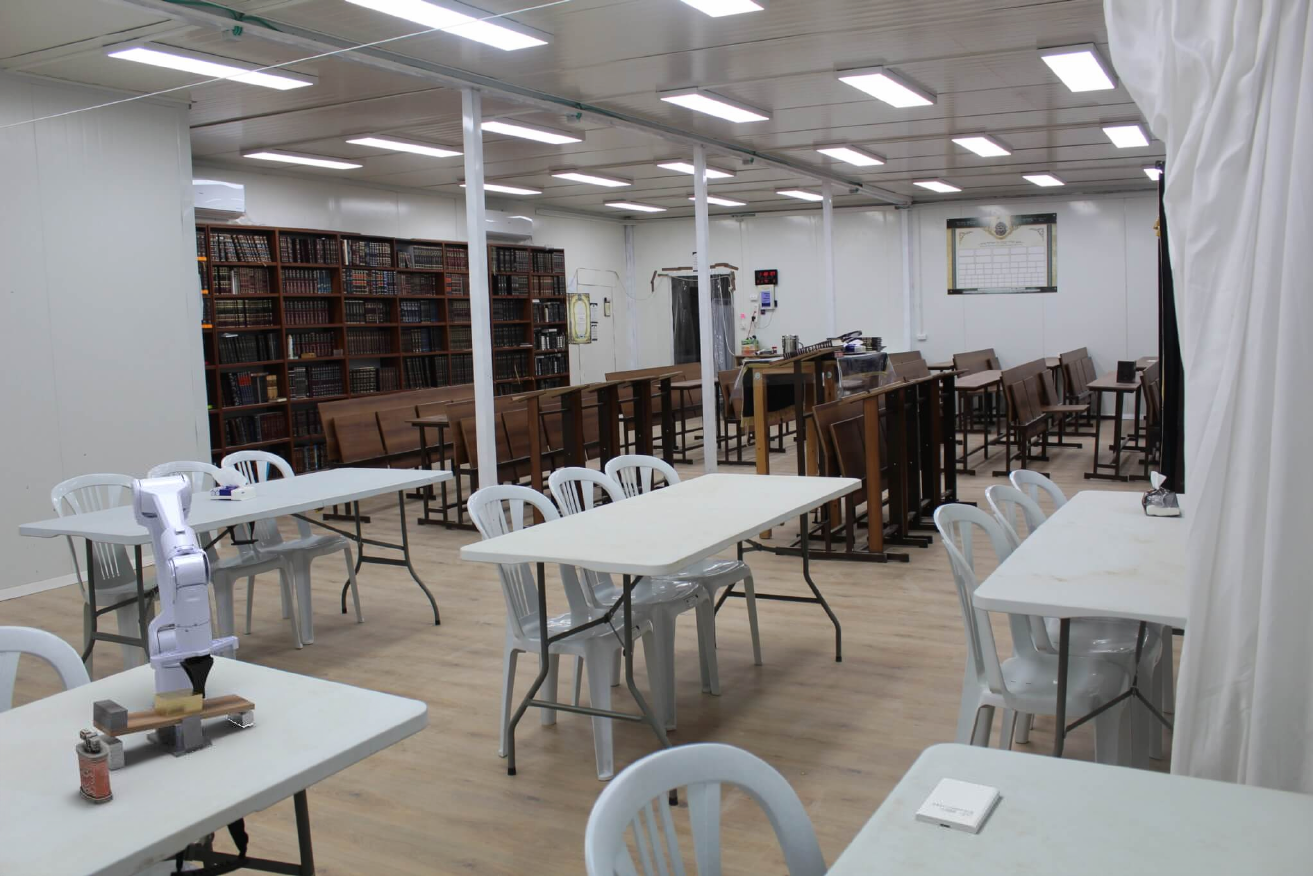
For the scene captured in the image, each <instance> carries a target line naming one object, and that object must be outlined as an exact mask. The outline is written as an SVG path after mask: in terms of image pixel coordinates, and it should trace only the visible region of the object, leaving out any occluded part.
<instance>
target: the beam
mask: <svg viewBox="0 0 1313 876" xmlns="http://www.w3.org/2000/svg"><path fill="white" fill-rule="evenodd" d="M255 706H256V704H255V702H252V701H250V700H248V699H245V698H243V697H241V696H239V695H238V694H235V693H233V694H228V695H222V696H217V697H212V698H207V699H205V700H202V711H200V712H195V713H199V714H200V717H201V721H202V720H208V719H211V718H218V717H222V716H228V714H233V713H238V712H243V711H249V710H251V711H252V710H255V708H256V707H255ZM92 708H93V709H92V710H93V711H92V712H93V713H92V714H93V715H92V717H93V718H92V726H93V727H94V728H96V729H97V730H98V731H101V732H102V733H103V734H106V735H108V736H109V737H116V738H117V737H121V736H125V735H130V734H137V733H141V732H146V731H147V732H148V731H151V730H155V729H157V728H162V727H167V726H172V725H175V726H177V725H180V720H179V718H182V717H185V716H188V715H192V714H195V713H190V714H185V715H180V716H175V717H170V718H166V717H164V716H162V715H160V714H158V713H156V712H154V709H153V708H151V709H145V710H140V711H139V710H138V711H134V712H130V713H129V710H128V709H127V708H125V707H124V706H122V705H120V704H119V703H117V702H115V701H113V700H111V699H104V700H103V699H102V700H98V701H93V707H92Z"/></svg>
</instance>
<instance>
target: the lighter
mask: <svg viewBox="0 0 1313 876" xmlns="http://www.w3.org/2000/svg"><path fill="white" fill-rule="evenodd" d="M99 736H100V735H99V734H98V732H97V731H94V732H92V731H91V730H89V729H88V728H83V729H80V730H79V739H80V740H82V741H83V742H80V743H77V744H76V745H75V752H76V753H77V754H76V755H77V758H78V759H77V760H78V768H79V778H80V785H79V791H80V796H81V795H82V796H81V797H82V798H83V800H85V801H86V802H88V801H89V802H88V803H91V804H92V805H96V804H100V805H104V804H107V803H109V801H110V802H112V801H113V799H114V797H113V791H112V789H111V781H110V769H109V768H108V759H107V758H108V757H109V754H108V750H107V748H106V747H105V746H104V745H102V744H101V741H100V738H99Z"/></svg>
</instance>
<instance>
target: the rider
mask: <svg viewBox="0 0 1313 876" xmlns="http://www.w3.org/2000/svg"><path fill="white" fill-rule="evenodd" d="M154 703H155V705H154V712H156V713H158V714H160V715H162V716H164V717H166V718H170V717H175V716H180V715H185V714H190V713H195V712H200V711H202V694H201V693H199V692H197V691H195V690H193V689H191V688H187V689H181V690H176V691H170V692H164V693H159V694H156V693H155V694H154Z"/></svg>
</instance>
